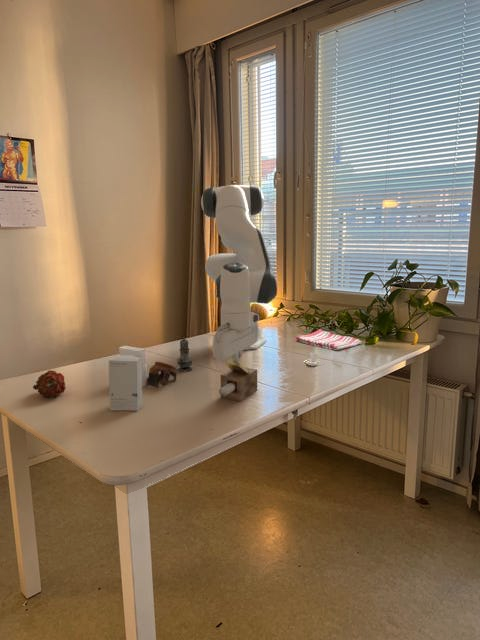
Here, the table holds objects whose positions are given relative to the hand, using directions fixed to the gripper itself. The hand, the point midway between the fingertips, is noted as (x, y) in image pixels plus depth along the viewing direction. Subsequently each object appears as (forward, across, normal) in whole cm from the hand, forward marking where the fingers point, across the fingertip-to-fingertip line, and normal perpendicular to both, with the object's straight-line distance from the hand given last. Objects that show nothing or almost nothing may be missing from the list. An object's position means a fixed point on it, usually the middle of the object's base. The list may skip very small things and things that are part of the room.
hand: (236, 364), depth 140 cm
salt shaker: (+11, +13, +30) cm, 35 cm away
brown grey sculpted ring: (+11, -2, +27) cm, 29 cm away
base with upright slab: (+11, -7, +36) cm, 38 cm away
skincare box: (+10, -23, +23) cm, 34 cm away
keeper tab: (+1, 0, 0) cm, 1 cm away
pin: (+8, 0, 0) cm, 8 cm away
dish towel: (+14, +74, -1) cm, 75 cm away
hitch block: (+10, +2, 0) cm, 10 cm away
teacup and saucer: (+12, +42, -4) cm, 44 cm away
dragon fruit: (+10, -28, +50) cm, 58 cm away
